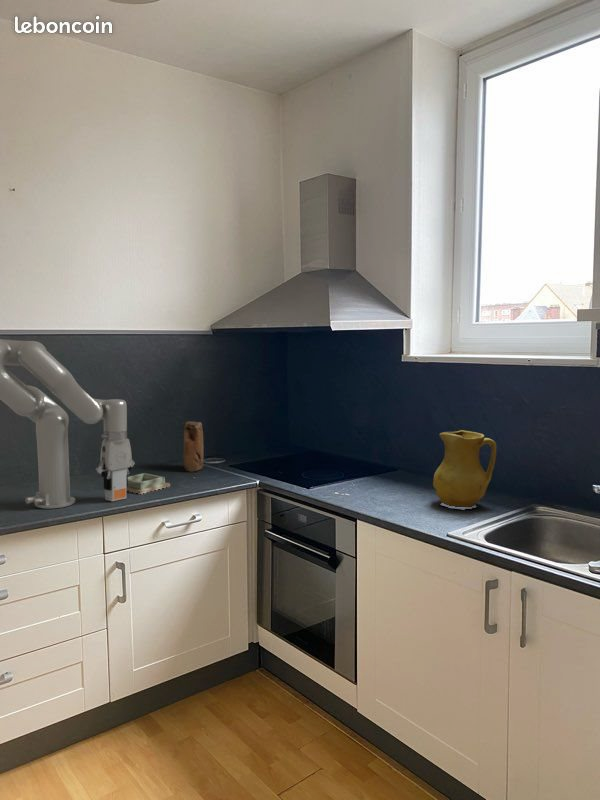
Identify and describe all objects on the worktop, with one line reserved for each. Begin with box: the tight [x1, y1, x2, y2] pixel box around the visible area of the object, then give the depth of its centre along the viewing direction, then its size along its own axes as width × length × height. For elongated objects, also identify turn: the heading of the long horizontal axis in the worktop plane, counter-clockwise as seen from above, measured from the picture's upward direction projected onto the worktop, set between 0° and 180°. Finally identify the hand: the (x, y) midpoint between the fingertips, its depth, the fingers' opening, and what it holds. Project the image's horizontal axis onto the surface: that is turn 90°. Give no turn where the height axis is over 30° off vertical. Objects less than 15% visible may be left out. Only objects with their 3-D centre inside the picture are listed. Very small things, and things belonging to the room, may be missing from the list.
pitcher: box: [432, 429, 497, 507], centre depth 207 cm, size 17×19×25 cm
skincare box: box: [104, 468, 127, 502], centre depth 214 cm, size 6×4×12 cm
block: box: [183, 421, 204, 473], centre depth 261 cm, size 11×8×20 cm
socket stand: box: [126, 472, 171, 495], centre depth 231 cm, size 14×14×4 cm
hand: (115, 487), depth 214 cm, fingers closed on skincare box, 6 cm apart
